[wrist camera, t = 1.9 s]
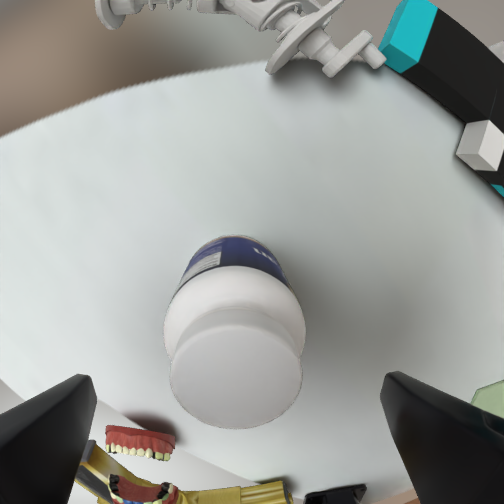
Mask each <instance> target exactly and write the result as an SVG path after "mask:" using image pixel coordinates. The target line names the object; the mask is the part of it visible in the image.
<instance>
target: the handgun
mask: <svg viewBox="0 0 504 504" xmlns="http://www.w3.org/2000/svg"><path fill="white" fill-rule="evenodd" d="M109 474H113V475H120V476H123V477H125V478H126V479H127V480H129V481H130V482H132V483H134V484H137V485H140V486H145V487H155V486H159V484H152V483H151V482H149V481H147V480H144V479H141V478H138V477H136V476H135V475H134V474H132V473H131V472H130V471H128V470H127V469H126V468H124V467H123V466H122V465H120V464H119V463H118V462H117V461H116V460H114V459H113V458H112V457H111V456H110V455H108V454H107V453H106V452H105V451H104V450H102V449H101V448H100V447H99V446H98V445H97V444H96V441H95V440H88V442H87V445H86V448H85V451H84V454H83V457H82V459H81V462H80V465H79V468H78V471H77V474H76V477H75V482H76V483H78V484H79V485H81V486H82V487H83V488H85V489H86V490H88V491H89V492H91V493H92V494H94V495H95V496H97V497H98V500H97V503H99V504H114V503H113V500H112V497H111V494H110V490H109V488H108V484H109V483H108V477H109ZM178 491H179V497H178V500H177V503H176V504H293V498H292V495H291V492H290V493H289V492H288V490H287V487H286V485H285V483H284V482H282V480H281V481H277V482H272V483H267V484H262V485H256V486H250V487H244V488H241V487H240V486H237V487H230V488H222V489H214V490H204V491H181V490H179V489H178Z"/></svg>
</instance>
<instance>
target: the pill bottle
mask: <svg viewBox="0 0 504 504" xmlns="http://www.w3.org/2000/svg"><path fill="white" fill-rule="evenodd" d="M163 336H164V344H165V348H166V351H167V354H168V356H169V358H170V360H171V362H172V363H171V368H170V383H171V387H172V391H173V393H174V396H175V397H176V399H177V401H178V402H179V404H180V405H181V406H182V407H183V408H184V409H185V410H186V411H187V412H188V413H189V414H190V415H192V416H193V417H195V418H196V419H198V420H200V421H202V422H204V423H206V424H209V425H212V426H216V427H219V428H226V429H246V428H252V427H257V426H260V425H263V424H265V423H268V422H270V421H272V420H274V419H275V418H277V417H279V416H280V415H282V414H283V413H284V412H285V411H286V410H287V409H288V408H289V407H290V406H291V405H292V404H293V403H294V401H295V399H296V398H297V396H298V394H299V391H300V389H301V384H302V376H303V375H302V367H301V363H300V360H299V359H300V357H301V354H302V352H303V349H304V345H305V338H306V327H305V320H304V316H303V313H302V310H301V308H300V305H299V302H298V300H297V298H296V296H295V294H294V293H293V291H292V289H291V287H290V284H289V283H288V281H287V279H286V277H285V275H284V273H283V271H282V269H281V267H280V266H279V264H278V262H277V260H276V258H275V257H274V256H273V254H272V253H271V252H270V251H269V250H268V249H267V248H266V247H265V246H264V245H262V244H261V243H259V242H258V241H256V240H254V239H251V238H249V237H245V236H240V235H227V236H222V237H218V238H215V239H213V240H211V241H209V242H208V243H206V244H205V245H203V246H202V247H201V248H200V249H199V250H198V251H197V252H196V253H195V254H194V256H193V257H192V259H191V260H190V262H189V264H188V266H187V268H186V270H185V272H184V275H183V277H182V279H181V281H180V283H179V285H178V287H177V290H176V292H175V294H174V296H173V298H172V300H171V302H170V305H169V308H168V311H167V313H166V317H165V321H164V329H163Z"/></svg>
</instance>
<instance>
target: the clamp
mask: <svg viewBox="0 0 504 504" xmlns="http://www.w3.org/2000/svg"><path fill="white" fill-rule="evenodd" d="M180 1H181V0H95V8H96V13H97V16H98V18H99V20H100V21H101V22H102V23H103V24H104V26H105V27H106V28H108V29H117V28H119V27H120V26H121V25H122V23H123V21H124V19H125V16H126V14H137V13H138V12H140V11H141V9H142V7H143V6H144V4H148V5H149V9H150V10H151V11H152V10H154V9H155V7H156V4H158V3H167V4H168V9H169V10H172V8H173V5H174V3H179V2H180ZM330 1H331V2H329V3H328V4H327V5H326V6H324V7H323V6H322V5H320V4H319V3H318V2H317V1H315V0H197V10H198V12H200V13H221V14H234V15H239V16H240V17H242V18H243V19H244V20H246V22H247V23H249V24H250V25H251V26H253V27H254V28H255V29H257V30H258V31H264V30H266V29H268V28H269V29H271V30H275V29H278V30H279V31H280V32H282V33H281V34H280V35H279V36H278V37H277V38H276V42H279V41H280V40H282V39H283V38H284V37H285V36H286V38H285V39H284V40H283V42H282V44H281V45H280V46H279V47H278V48H277V50H276V51H275V52H274V54H273V55H272V56H271V58H270V59H269V61H268V63H267V66H266V69H265V71H266V72H267V73H269V74H270V75H272V74H274V73H275V72H276V71H278V70H279V69H280V68H281V67H283V66H284V65H285V64H286V63H287V62H288V61H289V60H290V59H291V58H292V57H293V56H294V55H296V54H297V53H298V52H299V51H301V52H302V53H303V54H304V55H306V56H307V57H308V58H309V59H315V60H318V61H319V62H320V63H322V64H323V65H324V67H323V68H322V71H323V72H324V73H325V74H326V75H327V76H328V77H334V76H335V75H336V74H337V73H338V72H339V71H340V70H341V69H342V68H343V67H344V66H345V65H346V64H347V63H348V62H349V61H350V60H351V59H353V58H354V57H355V56H356V55H357V54H359V55H360V56H361V57H362V58H363V59H364V60H365V61H366V62H367V63H368V64H369V65H370V66H371V67H372V68H373V69H377V68H379V67H380V66H381V65H382V64H383V63H384V62H385V61H386V60H387V59H386V57H385V56H384V55H383V54H382V53H381V52H380V51H379V50H378V49H377V48H376V47H375V46H374V45H373V44H372V43H371V42H370V41H371V40H372V39H373V37H372V36H371V35H370V34H369V33H368V32H367V31H362V32H361V33H360V34H359V35H358V36H356V37H355V38H354V39H353V40H352V41H351V42H349V44H347V45H346V46H345V47H344V48H343V49H342V50H339V49H338V48H337V47H335V46H334V44H333V42H332V38H331V37H330V36H329V35H328V34H327V33H326V32H324V31H323V30H324V29H325V27H326V26H327V24H328V23H329V21H330V20H331V19H332V14H333V13H334V12H335V11H337V10H338V9H339V8H340V6H341V5H342V4H343V3H344V1H345V0H330ZM294 5H296V6H297V7H298V11H297V13H296V12H295V11H294V8H295V6H294ZM191 7H192V0H188V1H187V9H188V10H190V9H191ZM301 11H304V12H305V13H306V14H307V15H306V16H304V17H301V16H300V13H301Z"/></svg>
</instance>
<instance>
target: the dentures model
mask: <svg viewBox="0 0 504 504" xmlns="http://www.w3.org/2000/svg"><path fill="white" fill-rule="evenodd" d="M105 434H106V451H107V452H108V453H111V452H112V453H113V454H115V453H117V452H118V453H123V454H130V455H135V456H136V455H137V456H144V455H145V456H146V457H147V458H151V457H152V458H153V459H157V460H162V461H168V460H169V459H170V454H172V451H173V449H175V436H172V435H169V434H164V433H160V432H154V431H148V430H142V429H135V428H129V427H122V426H114V425H107V426H106V432H105ZM129 449H130V452H129ZM136 450H137V451H136ZM122 451H123V452H122ZM136 453H137V454H136ZM108 483H109V484H108V488H109V490H110V494H111V497H112V500H113V503H114V504H176V503H177V500H178V497H179V491H178V487H176V486H174V485H173V484H172V483H168V482H164V483H162V484H161V485H159V486H155V487H145V486H140V485H137V484H134V483H132V482H130V481H129V480H127V479H126V478H125V477H123V476H120V475H113V474H109V477H108Z"/></svg>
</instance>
